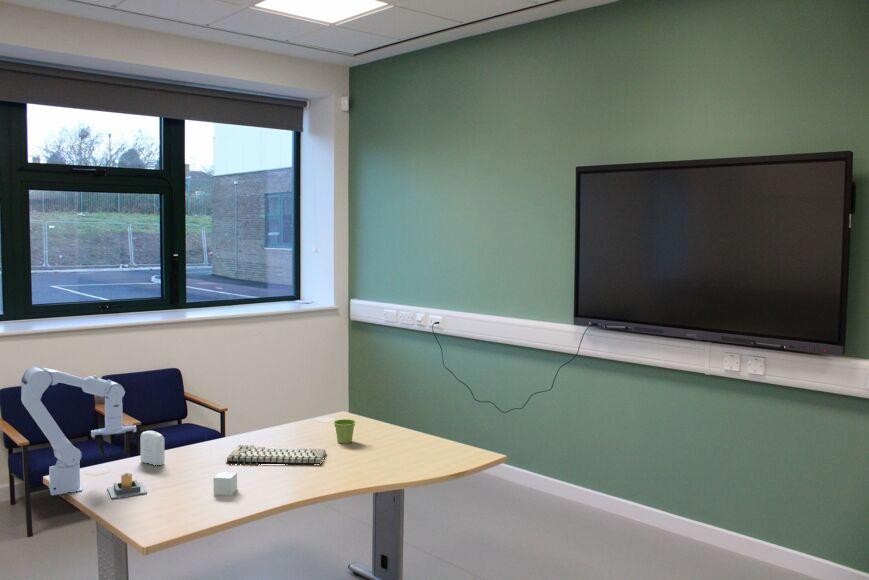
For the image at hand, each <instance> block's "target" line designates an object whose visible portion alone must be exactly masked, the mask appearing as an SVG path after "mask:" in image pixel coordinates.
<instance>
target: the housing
mask: <svg viewBox="0 0 869 580" xmlns="http://www.w3.org/2000/svg"><path fill="white" fill-rule="evenodd" d="M107 488H108V489H107ZM107 488H106V489H107V492H108V491H109V492H108V494H109V493H110V494H109V496H111V497H110V499H111V498H112V499H111V500H114V499H113V498H118V499H120V498H119V497H124V498H127V497H126V496H130V497H134V496H133V495H136V496H140V495H139V494H143V495H146V494H145V493H147V494H148V491H147V489H146V488H145V485H144V484H143V482H142V481H140V482H139V481H138V480H137V479H135V480H133V479H132V487H129V488H122V489H121V481H120V482H115V483H113V485H112V486H107Z"/></svg>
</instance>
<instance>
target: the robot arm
mask: <svg viewBox="0 0 869 580" xmlns="http://www.w3.org/2000/svg"><path fill="white" fill-rule="evenodd" d="M20 383H21V394H20V396H21V397H20V398H21V399H20V400H21V402H22V403H21V404H22V405H23V406H24V408H25V409H26V410H27V411H28V413H29V415H30V416H31V418H32V419H33V420H34V422H35V423H36V425H37V426H38V428H39V429H40V430H41V431H42V433H43V434H44V436H45V437H46V438H47V440H48V441H49V443H50V446H51V447H52V449H53V455H54V457H55V458H56V459H57V460H56V463H55V464H54V465H52V466H49V467H48V468H49V469H48V471H49V473H48V475H49V480H48V481H49V483H48V489H49V492H50V495H51V496H57V495H65V494H69V493H68V492H71V493H77V492H82V491H83V487H82V484H81V471H80V469H81V466H80V463H81V462H80V461H81V459H82V451H81V450H80V449H79V448H77V447H75V446H74V445H73V443H72V442H71V441H70V440H69V439H68V438H67V437H66V435H65V434H64V433H63V431H62V430H61V428H60V427H59V425H58V424H57V422H56V421H55V420H54V418H53V416H52V415H51V414H50V413H49V411H48V409H47V407H46V406H45V405H44V404H43V402H42V399H41V398H42V397H43V394H44V393H45V391H46V390H47V389H48V388H49V387H50V385H51V386H55V385H57V384H59V383H61V384H65V385H68V386H74V387H78V388H81V390H82V392H84V393H86V394H90V395H94V396H97V397H98V396H99V397H103V398H104V427H103V428H98V429H94V430H93V429H92V430H90V436H91V438H94V439H95V441H96V442H97V444H98V447H99V450H100V456H101V457H104V456H105V451H104V450H105V449H104V440H105V439H104V436H109V435H115V434H116V435H118V434H124V447H123V448H124V453H125V454H128V452H129V451H128V450H129V447H130V444H131V442H132V439H133V437H134V435H135V434H134V433H136V432H137V426H136V424H135V425H134V424H133V425H123V424H124V423H123V421H124V419H123V398H124V396H125V393H126V391H125V388H124V387H123V386H122V384H120V383H118V382H116V381H113V380H111V379H107V380H106V379H103V378H100V377H99V376H98V375H95V374H94V375H92V376H91V375H88V376H86V377H80V376H77V375H73V374H70V373H67V372H64V371H60V370H57V369H53V368H52V369H51V368H46V367H42V368H41V367H39V366H30V367H28V368H27V369H26V370H25V371H23V375H22V377H21V378H20ZM76 491H77V492H76Z"/></svg>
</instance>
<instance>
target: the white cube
mask: <svg viewBox="0 0 869 580" xmlns="http://www.w3.org/2000/svg"><path fill="white" fill-rule="evenodd" d="M212 480H213V495H214V494H215V495H214V496H228V495H231V496H232V495H233V494H234V493H235V492H236V491H237V490H238V473H237V472H230V471H219V473H217V474H216V475H215V476H213V479H212Z"/></svg>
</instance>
